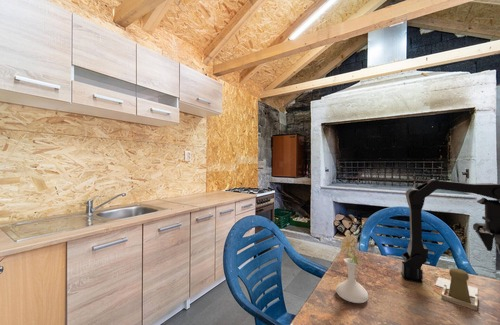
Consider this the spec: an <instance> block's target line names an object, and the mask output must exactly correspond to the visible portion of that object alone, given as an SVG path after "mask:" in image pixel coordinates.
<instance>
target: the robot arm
mask: <svg viewBox="0 0 500 325" xmlns="http://www.w3.org/2000/svg"><path fill="white" fill-rule="evenodd" d="M437 190H443V191H450V192H452V191H453V192H460V193H469V194H475V195H479V196H483V197H481V198H480V199H478V200H477V201H476V202H477V203H478V204H480V205H484V216H481V217H482V220H484V223H481V222H475V223H474V224H473V225H472V227H473V228H472V229H473V230H475V234H477V236H478V237H479V239H480V240H481V243H482V244H483V245H484V247H485V249H486V250H487V251H489V252H492V251H493V247H494V246H493V245H495V247H496V250H497V251H498V254H499V255H500V184H499V183H492V182H490V183H489V182H486V183H484V182H481V183H466V182H458V181H457V182H455V181H449V180H438V179H433V178H431V179H429V180H427V181H426V182H424V183H422V184H419V185H417V186H416V187H413V188H409V189H407V190H406V191H405V197H406V198H405V199H406V202H407V206H408V208H409V232H410V233H409V242H408V246H407V249H406V251H405V252H404V253H402V254H401V257H402V260H403V261H401V272H400V274H401V276H402V277H403V279H404V281H409V282H415V283H422V284H423V282H424V281H423V279H424V275H423V273H424V272H423V269H422V266H423V265H424V264H425V263H427V261H428V260H429V259H430V258H429V248H428V247H427V246H426V245H425V244H423V228H422V226H423V225H422V224H423V223H422V222H423V221H422V220H423V219H422V210H423V208H424V205H425V198H427V197H428V196H430V195H431V194H433V193H434V192H435V191H437ZM488 198H491V199H488ZM494 241H495V242H494Z"/></svg>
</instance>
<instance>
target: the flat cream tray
mask: <svg viewBox="0 0 500 325" xmlns="http://www.w3.org/2000/svg"><path fill="white" fill-rule="evenodd" d="M446 293H447V289H446V285H444V288H442V290H441V297H440V298H441V299H442V300H445V301H447V302H450V303H453V304H456V305H458V306H463V307H465V308H468V309H470V310H473V311H478V301H479V300H478V299H479V296H478V295H479V294H478V295H477V294H475V298H474V303H471V304H470V303H467V302H464V301H461V300H458V299H455V298H452V297H449V296H448V295H446Z"/></svg>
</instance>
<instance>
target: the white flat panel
mask: <svg viewBox="0 0 500 325" xmlns="http://www.w3.org/2000/svg"><path fill="white" fill-rule="evenodd" d="M450 283H451V279H447V278H444V277H440V276H438V277H437V279H436V281H435V285H434V286H436V287H438V288H442V289H443V288H444V285H446V290H448V291H449V289H450ZM468 290H469V295H470V298H474V299H475V294H477V295H479V294H478V292H479V288H478V287H474V286H471V285H468Z"/></svg>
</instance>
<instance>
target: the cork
mask: <svg viewBox="0 0 500 325" xmlns="http://www.w3.org/2000/svg"><path fill="white" fill-rule="evenodd" d="M448 274H449V276H450V280H451V283H450V289H449V290H448V295H447V296H449V297H452V298H455V299H458V300H461V301H464V302H467V303H470V304H472V301H471V297H470V295H469V290H468V286H469V284H468V281H469V278H470V277H469V274H468V272H466V271H465V270H464V269H460V268H457V267H456V268H455V267H453V268H450V269H449V273H448Z"/></svg>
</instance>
